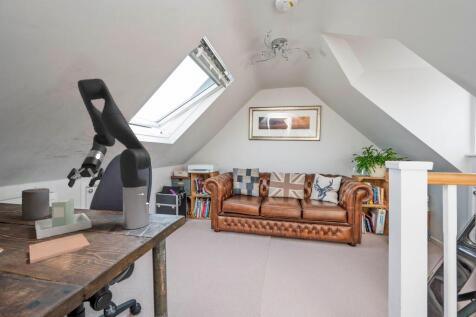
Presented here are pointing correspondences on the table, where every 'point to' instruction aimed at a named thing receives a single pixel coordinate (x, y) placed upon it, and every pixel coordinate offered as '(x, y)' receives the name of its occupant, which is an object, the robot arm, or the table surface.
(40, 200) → the pillar candle
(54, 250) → the terracotta tile
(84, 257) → the table surface
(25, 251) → the table surface
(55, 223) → the sage box
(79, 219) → the grey bin
